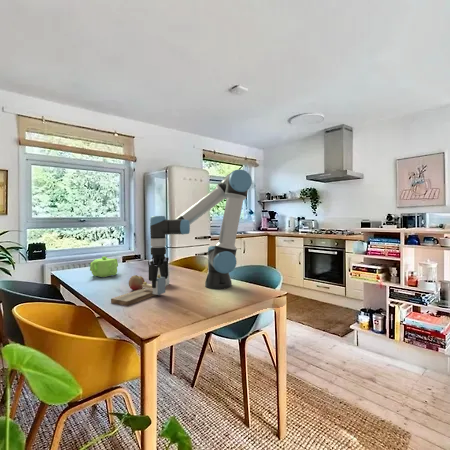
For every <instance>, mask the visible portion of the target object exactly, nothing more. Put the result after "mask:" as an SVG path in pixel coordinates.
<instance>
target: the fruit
mask: <svg viewBox="0 0 450 450" xmlns="http://www.w3.org/2000/svg"><path fill="white" fill-rule="evenodd" d="M144 282H146V281H145V278H144V277H143V276H142V275H141V276H140V275H138V274H137V275H135V274H134V275H132V276H131V277H130V278H129V280H128V287H129V288H130V289H131V290H132V291H136V290H139V289H142V288H144V287H142V284H144Z"/></svg>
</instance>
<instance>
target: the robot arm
mask: <svg viewBox="0 0 450 450" xmlns="http://www.w3.org/2000/svg"><path fill="white" fill-rule="evenodd" d="M252 182H253V181H252V177H251V175H250V173H249V172H248V171H246V170H245V169H234V170H232V172H230V173H229V174H227V175H226V176H225V177H223V179H222V180H221V181H220V182H219V183H217V185H216V186H215V188H214V189H212V190H211V191H210V192H209V193H208V194H206V195H205V196H203V197H202V198H201V199H200V200H198V201H197V202H196V203H195V204H193V205H192V206H190V207H188V209H186V210H185V211H183V212H182V213H181V214H180V215H179V216H177V217H176V218H174V219H167V217H166V216H165V215H152V216H151V217H150V219H149V220H150V224H149V230H150V231H149V233H150V246H151V247H150V255H151V259H150V260H147V265H148V281H150V282H151V281H152V282H151V284H152V288H153V294H156V295H155V296H158V295H157V294H158V281H157V274H158V268H159V269H160V275H161V277H165V279H167V277H168V267H169V257H166V254H167V248H166V246H167V235H183V236H184V235H188V234H190V233H191V232H190V231H191V230H190V229H191V228H190V227H191V226H190V225H191V224H193V223H194V222H196V221H197V220H198V219H199V218H201V217H202V216H203V215H205V214H206V213H207V212H208V211H210V210H212V209H213V208H214V207H215V206H217V205H218V204H219V203H220V202H222V201H224V200H226V202H225V206H224V212H223V217H222V223H221V226H220V232H219V239H218V242H217V243H215V244H214V245H211V246H209V247H208V248H207V259H208V260H207V269H208V270H207V276H206V279H205V283H204V284H205V285H204V286H205V288H208V289H210V290H223V289H224V288H225V289H229V288H232V286H233V284H232V278H231V276H230V273H231V272H233V271H234V270H235V269H236V267H237V263H238V262H237V257H236V255H237V247H236V239H237V234H238V229H239V224H240V218H241V212H242V208H243V207H242V206H243V202H244V200H245V199H247V198H248V191H249V190H250V189H251V186H252ZM165 284H166V282H165Z"/></svg>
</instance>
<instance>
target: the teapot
mask: <svg viewBox="0 0 450 450" xmlns="http://www.w3.org/2000/svg"><path fill="white" fill-rule="evenodd" d="M118 267H119V263H118V258H109V257H108V256H101V258H97V259H94V260H93V261H91V262H90V266H89V271H91V275H92V276H93V277H96V276H98V277H101V278H102V277H104V278H106V277H112V276H111V275H113V276H115V275H117V274H118Z"/></svg>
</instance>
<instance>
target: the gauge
mask: <svg viewBox="0 0 450 450" xmlns="http://www.w3.org/2000/svg"><path fill="white" fill-rule="evenodd" d="M157 281H158V294H157V295H156V294H155V296H160V295H162V294H165V293H166V286H165V277H161V276H160V275H157ZM142 287H143V288H148V289H153V288H152V283H148V282H147V281H145V282H144V284H142Z"/></svg>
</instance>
